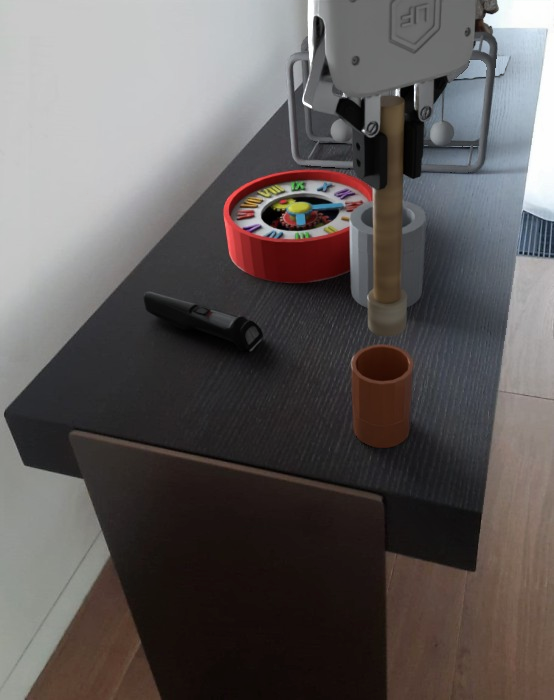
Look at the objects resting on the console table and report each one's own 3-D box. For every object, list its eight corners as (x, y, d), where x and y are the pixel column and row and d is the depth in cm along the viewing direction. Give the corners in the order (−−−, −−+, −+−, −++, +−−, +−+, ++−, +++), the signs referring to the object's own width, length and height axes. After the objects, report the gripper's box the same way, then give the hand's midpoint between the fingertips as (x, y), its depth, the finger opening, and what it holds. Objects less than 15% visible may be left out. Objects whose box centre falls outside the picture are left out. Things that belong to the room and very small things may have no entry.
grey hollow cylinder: (436, 296, 83) (441, 221, 77) (375, 319, 80) (375, 243, 74) (396, 265, 89) (397, 192, 83) (338, 285, 86) (335, 212, 80)
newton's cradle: (487, 146, 114) (499, 30, 103) (483, 175, 106) (496, 52, 95) (307, 141, 122) (300, 32, 111) (291, 167, 114) (283, 53, 103)
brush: (413, 328, 59) (421, 101, 47) (381, 341, 58) (381, 113, 46) (392, 310, 61) (394, 89, 49) (360, 322, 60) (355, 100, 48)
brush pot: (421, 434, 66) (425, 369, 61) (372, 456, 64) (372, 391, 59) (389, 400, 70) (390, 337, 65) (342, 420, 68) (340, 357, 63)
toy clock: (226, 176, 100) (367, 164, 99) (231, 213, 103) (367, 201, 103) (219, 248, 84) (386, 234, 83) (225, 289, 88) (386, 276, 87)
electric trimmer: (160, 304, 87) (155, 282, 85) (265, 336, 80) (262, 313, 78) (141, 320, 84) (135, 298, 82) (247, 355, 77) (243, 332, 75)
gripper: (295, -102, 35) (316, 230, 46) (547, -145, 39) (510, 165, 51) (234, -109, 40) (267, 189, 51) (462, -146, 45) (446, 134, 56)
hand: (388, 175), depth 51 cm, fingers closed on brush, 2 cm apart
